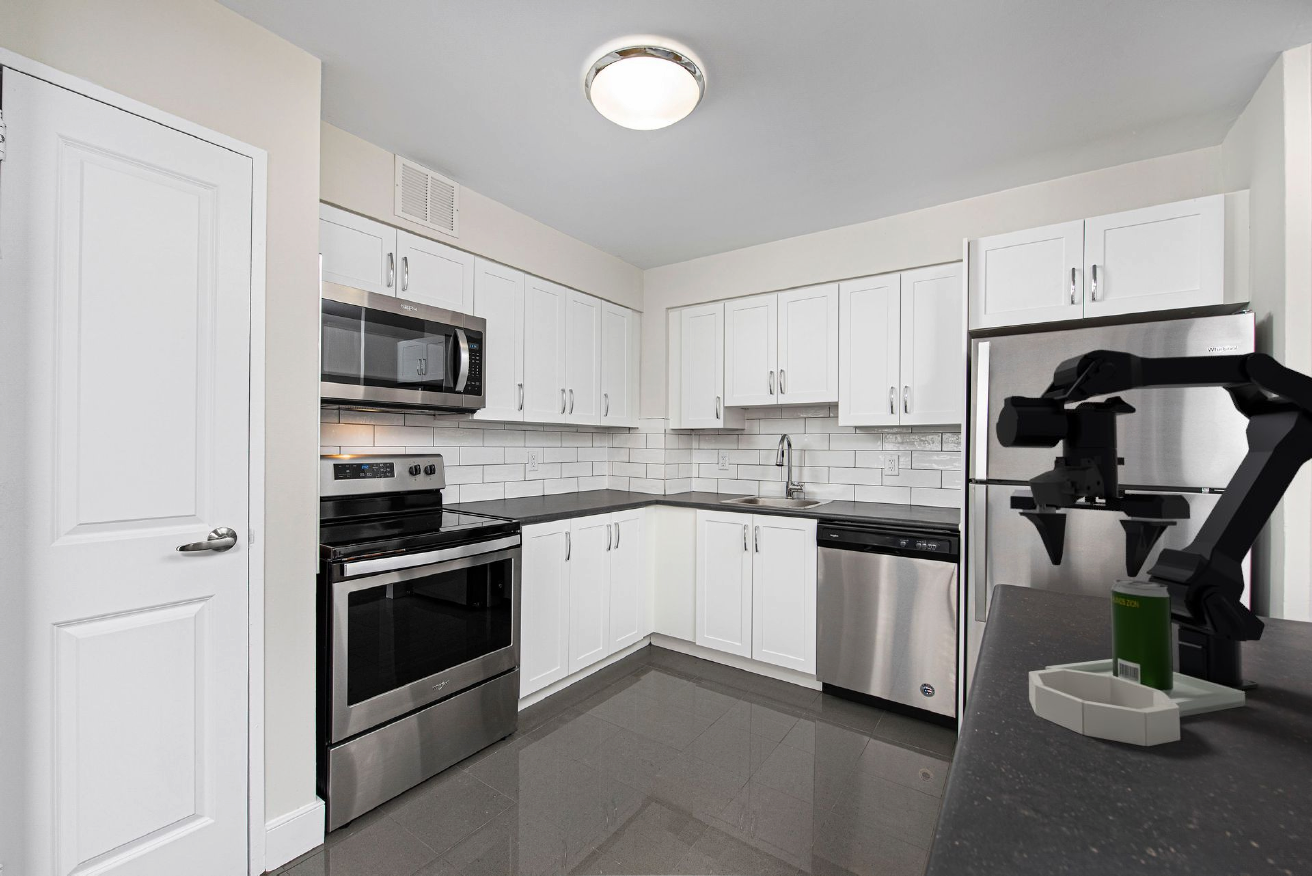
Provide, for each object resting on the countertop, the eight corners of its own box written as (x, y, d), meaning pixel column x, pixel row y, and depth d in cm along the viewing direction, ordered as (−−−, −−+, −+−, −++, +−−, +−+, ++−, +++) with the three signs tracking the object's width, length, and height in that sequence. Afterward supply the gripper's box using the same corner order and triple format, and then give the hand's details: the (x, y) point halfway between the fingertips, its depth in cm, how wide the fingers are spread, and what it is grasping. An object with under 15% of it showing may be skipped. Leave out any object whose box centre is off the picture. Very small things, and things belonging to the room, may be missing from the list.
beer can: (1163, 700, 63) (1159, 589, 64) (1104, 684, 68) (1102, 581, 69) (1181, 691, 66) (1178, 585, 67) (1124, 677, 71) (1121, 577, 71)
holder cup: (1081, 692, 67) (1080, 665, 67) (1203, 735, 56) (1202, 703, 56) (1006, 702, 63) (1006, 674, 63) (1121, 751, 52) (1120, 716, 52)
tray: (1123, 669, 76) (1122, 657, 76) (1245, 705, 64) (1244, 691, 64) (1045, 679, 71) (1045, 666, 71) (1161, 720, 59) (1161, 705, 60)
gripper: (980, 449, 81) (981, 561, 80) (1127, 443, 64) (1131, 587, 63) (1037, 452, 85) (1039, 559, 84) (1190, 447, 67) (1195, 583, 66)
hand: (1092, 570), depth 74 cm, fingers open, 9 cm apart
